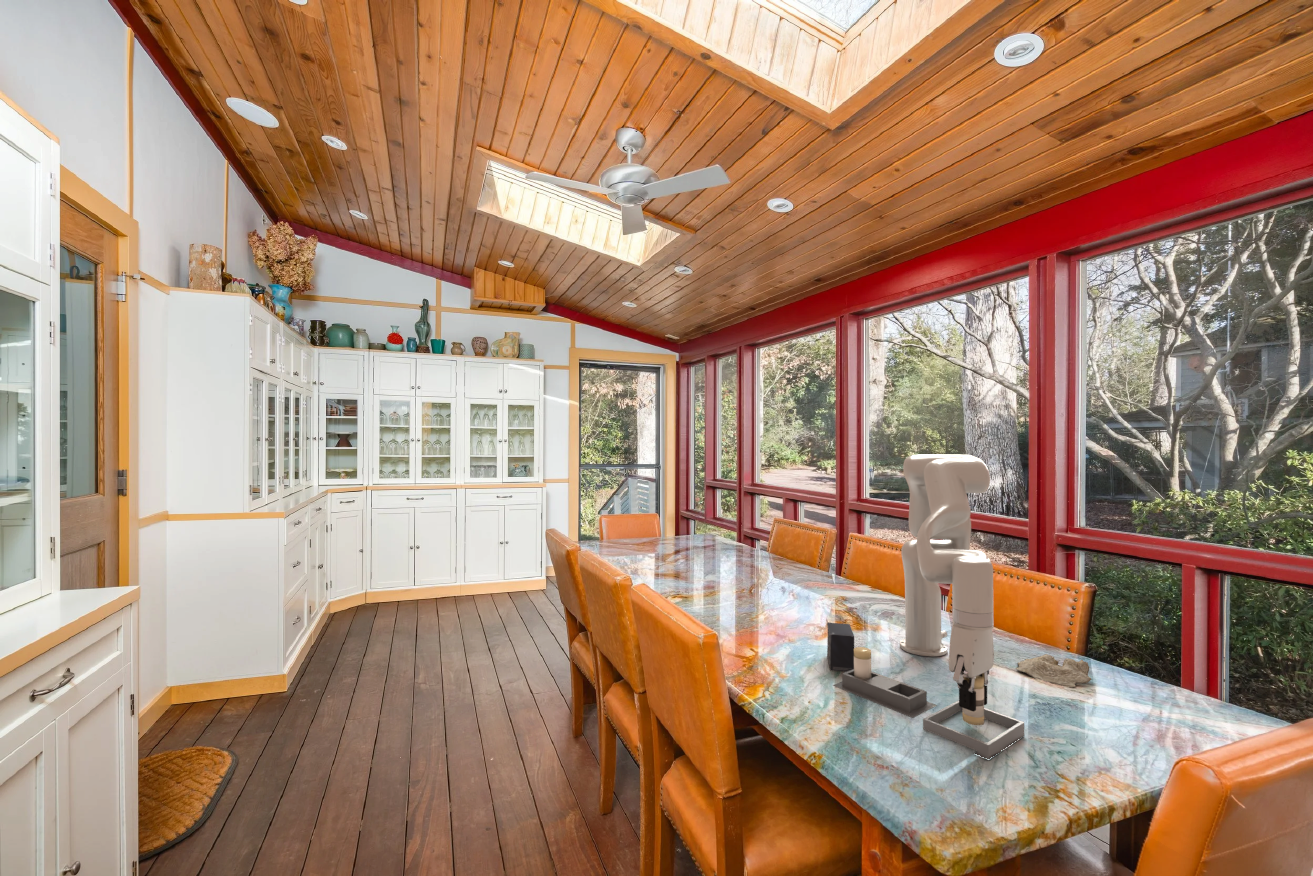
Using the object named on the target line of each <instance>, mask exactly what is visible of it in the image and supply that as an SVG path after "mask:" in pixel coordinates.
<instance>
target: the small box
mask: <svg viewBox="0 0 1313 876" xmlns="http://www.w3.org/2000/svg"><path fill="white" fill-rule="evenodd" d="M826 625H827V642H826V643H827V646H826V647H827V648H826V649H827V650H826V653H827V656H826V657H827V663H828V668H829V670H830V671H833V672H847V671H850V670H853V669H854V648H855V635H854V632H853V629H852V627H851V624H850V623H839V622H829V621H828V622H827V624H826Z"/></svg>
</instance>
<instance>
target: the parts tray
mask: <svg viewBox="0 0 1313 876" xmlns="http://www.w3.org/2000/svg"><path fill="white" fill-rule="evenodd" d="M961 711H962V707H960V706H959V699H958V700H957V701H955V702H953V703H951V704H949V705H947V706H945V707H943V708H941V709H939V710H937V711H936V712H933V713H931V714H930V715H927V716H926V717H924V718H922V729H923V730H925V731H928V732H930V733H933V734H935V735H938V736H939V737H942V738H944V739H947V740H949V741H952V742H954V743H955V744H958V745H961V746H963V747H966V748H969V749H971V750H973V751H975V752H974V753H975V754H977V755H980V756H981V757H984V758H987V759H990V758H991V757H993V756H995V755H996V754H998V753H1000V752H1001V750H1003V749H1005V748H1006V747H1008V746H1009V745H1011V744H1012V743H1014V742H1015V741H1017V740H1018V739H1020V738H1021V737H1023V736H1024V737H1025V721H1022V720H1019V719H1017V718H1014V717H1011V716H1008V715H1006V714H1002V713H1000V712H997V711H994V710H992V709H989V708H985V707H984V720H987V721H989V722H992V723H995V724H998V725H1000V726H1003V727H1005V728H1008V729H1006V730H1005V731H1003V732H1002V733H1000V734H999V735H997V736H995V737H994V738H992V739H991V740H989V741H987V742H985V741H983V740H981V739H978V738H976V737H973V736H970V735H969V734H965V733H963V732H961V731H958V730H955V729H953V728H950V727H948V726H946V725H943V724H940V723H941V722H943V721H944V720H945V721H946V719H949V718H950V717H952V716H954V715H956V714H958V713H959V712H961ZM1024 737H1023V738H1024ZM1020 740H1021V739H1020ZM1017 742H1018V741H1017ZM1014 744H1015V743H1014ZM1011 746H1012V745H1011ZM1008 748H1009V747H1008ZM1005 750H1006V749H1005ZM1001 753H1002V752H1001ZM1001 753H1000V754H1001ZM998 755H999V754H998ZM981 757H980V758H981ZM995 757H996V756H995Z"/></svg>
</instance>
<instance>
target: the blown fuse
mask: <svg viewBox="0 0 1313 876" xmlns="http://www.w3.org/2000/svg"><path fill="white" fill-rule="evenodd" d="M964 679H965V680H967V681H968V683H969V678H966V677H964ZM974 691H975V692H976V711H974V712H973V711H970V710H968V709H965V708H962V710H961V711H962V715H961V717H962V718H961V720H963V722H964V723H966V724H969V725H972V726H983V725H984V724H985V719H984V708H985V705H984V678H983V677H981V676H979V675H978V676H976V677H975V682H974Z"/></svg>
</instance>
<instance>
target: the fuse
mask: <svg viewBox="0 0 1313 876" xmlns="http://www.w3.org/2000/svg"><path fill="white" fill-rule="evenodd" d="M871 671H872V649H870V648H868V647H864V646H857V647H854V677H857V678H859V679H862V680H865V681H866V680H869V679H871Z"/></svg>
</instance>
